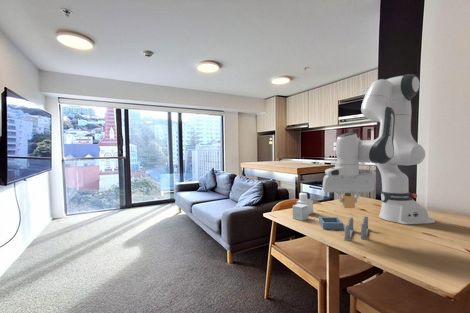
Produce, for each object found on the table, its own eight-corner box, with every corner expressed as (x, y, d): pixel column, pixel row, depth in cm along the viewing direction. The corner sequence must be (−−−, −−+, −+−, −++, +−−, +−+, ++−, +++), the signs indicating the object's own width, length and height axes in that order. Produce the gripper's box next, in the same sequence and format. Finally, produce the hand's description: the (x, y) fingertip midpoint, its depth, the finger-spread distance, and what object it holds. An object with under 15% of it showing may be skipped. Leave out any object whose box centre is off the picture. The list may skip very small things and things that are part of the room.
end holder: (337, 223, 110) (337, 217, 110) (343, 229, 102) (343, 223, 101) (319, 222, 112) (318, 216, 112) (323, 229, 103) (322, 222, 103)
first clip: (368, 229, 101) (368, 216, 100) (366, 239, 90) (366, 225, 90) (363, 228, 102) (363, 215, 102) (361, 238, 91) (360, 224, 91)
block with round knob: (351, 205, 96) (351, 192, 96) (354, 208, 93) (354, 194, 92) (341, 205, 97) (341, 192, 97) (344, 208, 93) (344, 194, 93)
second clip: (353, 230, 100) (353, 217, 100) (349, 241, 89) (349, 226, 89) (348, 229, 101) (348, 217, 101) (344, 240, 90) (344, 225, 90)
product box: (302, 221, 116) (301, 207, 115) (292, 218, 120) (292, 205, 120) (308, 218, 119) (308, 205, 119) (298, 216, 124) (298, 203, 124)
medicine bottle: (302, 210, 135) (301, 191, 135) (313, 212, 130) (313, 192, 130) (296, 213, 130) (296, 193, 130) (307, 215, 125) (307, 194, 125)
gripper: (370, 169, 96) (370, 200, 96) (321, 170, 99) (322, 200, 100) (377, 170, 90) (377, 204, 90) (324, 171, 93) (325, 203, 93)
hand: (348, 202), depth 95 cm, fingers closed on block with round knob, 4 cm apart
